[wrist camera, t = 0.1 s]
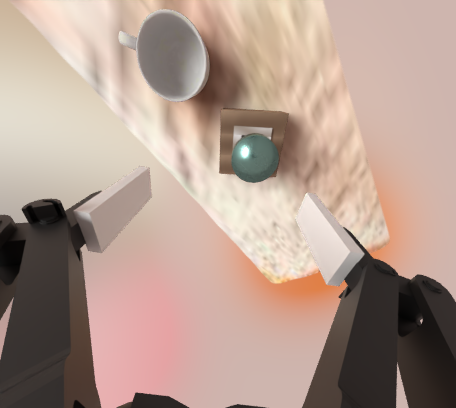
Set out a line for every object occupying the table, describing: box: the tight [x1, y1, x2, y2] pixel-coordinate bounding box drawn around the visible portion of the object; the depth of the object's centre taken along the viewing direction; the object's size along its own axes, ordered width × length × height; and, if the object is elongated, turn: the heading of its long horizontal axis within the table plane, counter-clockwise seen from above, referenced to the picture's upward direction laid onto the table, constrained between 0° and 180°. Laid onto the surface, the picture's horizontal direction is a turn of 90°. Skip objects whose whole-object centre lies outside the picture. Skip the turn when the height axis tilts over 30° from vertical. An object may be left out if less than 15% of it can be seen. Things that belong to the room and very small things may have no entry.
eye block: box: [219, 108, 289, 177], centre depth 36 cm, size 12×12×6 cm
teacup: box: [119, 9, 210, 102], centre depth 29 cm, size 14×11×8 cm
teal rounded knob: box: [231, 133, 279, 183], centre depth 32 cm, size 7×7×15 cm
